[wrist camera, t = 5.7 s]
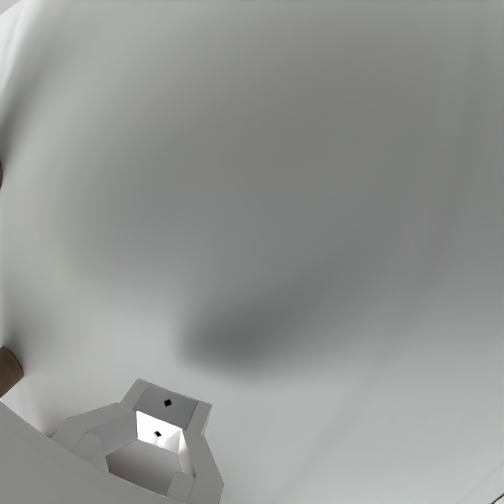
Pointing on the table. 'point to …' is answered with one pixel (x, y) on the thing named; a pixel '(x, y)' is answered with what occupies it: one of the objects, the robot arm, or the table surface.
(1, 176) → the post
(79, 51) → the table surface
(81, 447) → the robot arm
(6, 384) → the post
